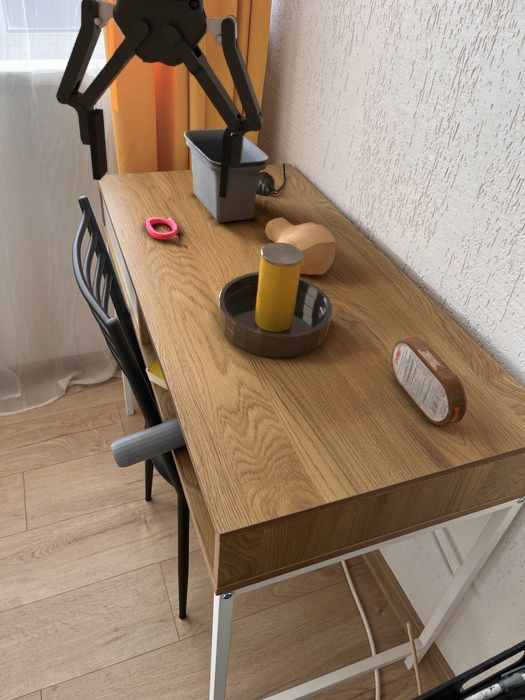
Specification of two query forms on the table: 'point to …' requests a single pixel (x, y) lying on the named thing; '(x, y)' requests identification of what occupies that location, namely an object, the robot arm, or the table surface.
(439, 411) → the tin
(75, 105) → the robot arm
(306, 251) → the squash
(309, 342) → the pan
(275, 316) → the corn can
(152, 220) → the fitness band
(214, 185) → the storage bin
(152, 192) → the table surface
